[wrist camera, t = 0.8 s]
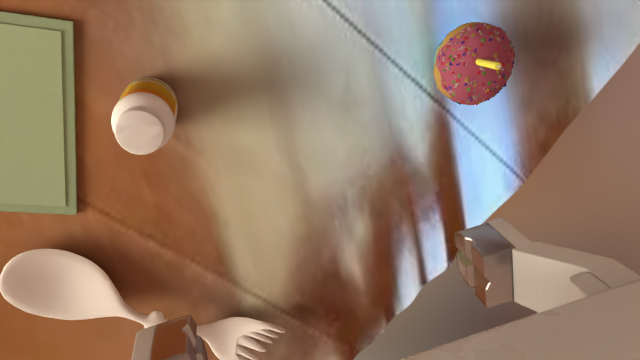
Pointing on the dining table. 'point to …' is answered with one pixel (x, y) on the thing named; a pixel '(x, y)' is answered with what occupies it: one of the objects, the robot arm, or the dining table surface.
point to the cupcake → (473, 63)
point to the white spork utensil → (108, 300)
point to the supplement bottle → (145, 116)
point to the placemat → (37, 115)
